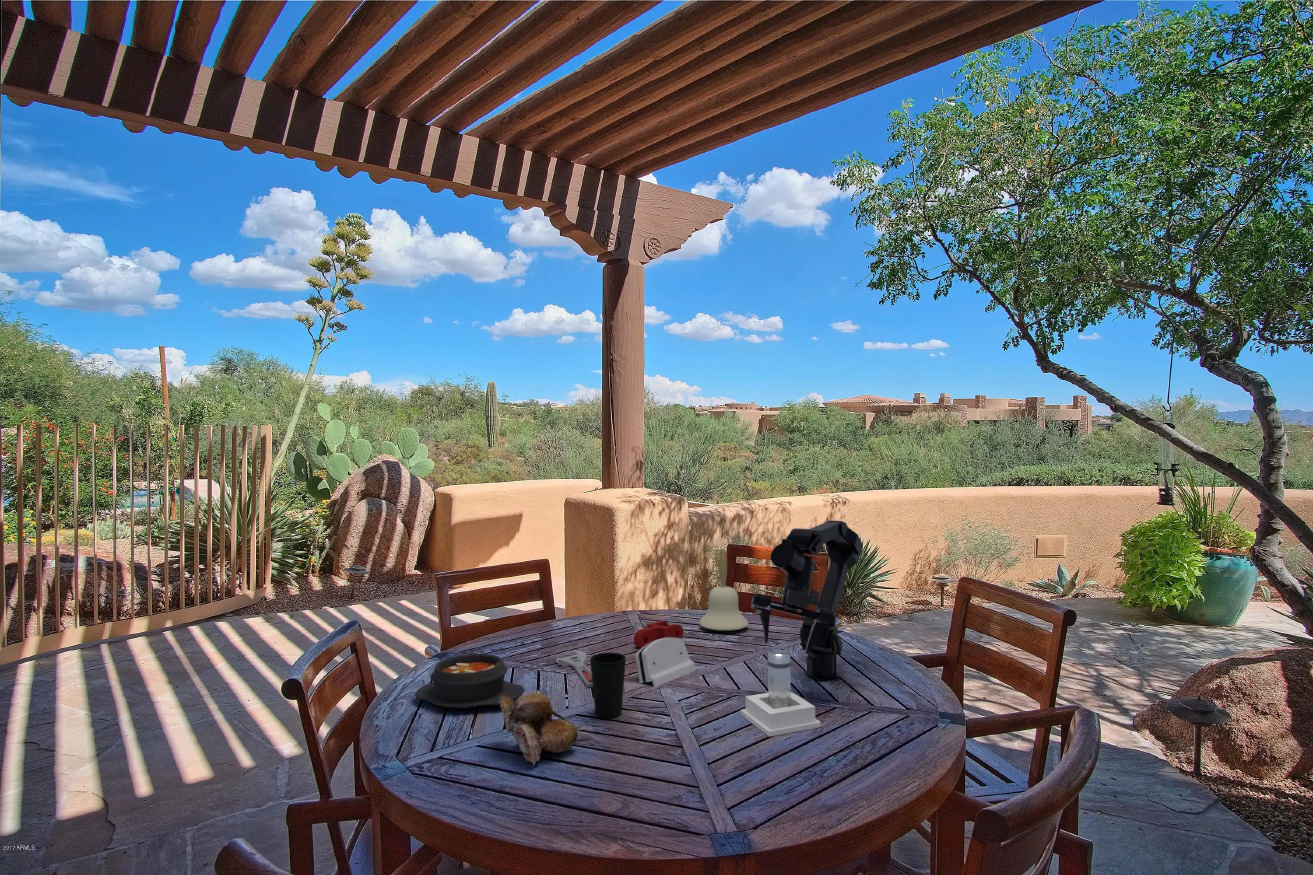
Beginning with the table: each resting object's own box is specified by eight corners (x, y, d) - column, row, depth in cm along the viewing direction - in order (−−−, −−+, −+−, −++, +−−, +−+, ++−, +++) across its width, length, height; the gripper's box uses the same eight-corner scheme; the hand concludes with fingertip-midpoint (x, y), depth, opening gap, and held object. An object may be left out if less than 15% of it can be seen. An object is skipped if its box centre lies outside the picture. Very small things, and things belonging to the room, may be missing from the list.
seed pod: (510, 695, 140) (479, 697, 126) (585, 680, 138) (562, 681, 125) (517, 765, 136) (486, 775, 122) (595, 750, 134) (572, 759, 120)
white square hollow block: (789, 706, 150) (789, 687, 150) (820, 727, 139) (820, 707, 139) (740, 714, 146) (740, 695, 146) (768, 736, 135) (768, 716, 135)
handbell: (734, 637, 204) (733, 553, 204) (690, 630, 212) (689, 549, 212) (756, 626, 217) (755, 547, 217) (714, 619, 225) (713, 543, 225)
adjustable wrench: (565, 693, 161) (565, 684, 161) (554, 659, 187) (554, 651, 187) (599, 690, 163) (599, 681, 163) (584, 656, 189) (584, 649, 189)
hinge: (654, 687, 163) (643, 645, 165) (640, 689, 166) (630, 648, 168) (697, 669, 175) (686, 630, 178) (683, 672, 178) (673, 633, 181)
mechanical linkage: (665, 635, 208) (665, 619, 208) (683, 640, 203) (683, 623, 203) (627, 647, 196) (627, 629, 196) (645, 652, 191) (645, 634, 191)
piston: (775, 709, 146) (774, 647, 146) (796, 714, 143) (795, 652, 143) (763, 716, 142) (762, 653, 142) (784, 722, 139) (783, 657, 139)
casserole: (537, 689, 162) (537, 654, 162) (501, 720, 144) (501, 680, 144) (442, 682, 168) (442, 647, 168) (396, 710, 150) (396, 672, 150)
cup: (631, 709, 149) (631, 654, 149) (618, 722, 142) (617, 664, 142) (599, 705, 152) (598, 650, 152) (584, 718, 145) (584, 661, 145)
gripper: (761, 563, 153) (747, 633, 147) (845, 583, 151) (834, 655, 145) (757, 573, 163) (744, 639, 158) (835, 592, 161) (825, 660, 155)
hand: (786, 648), depth 154 cm, fingers open, 9 cm apart
